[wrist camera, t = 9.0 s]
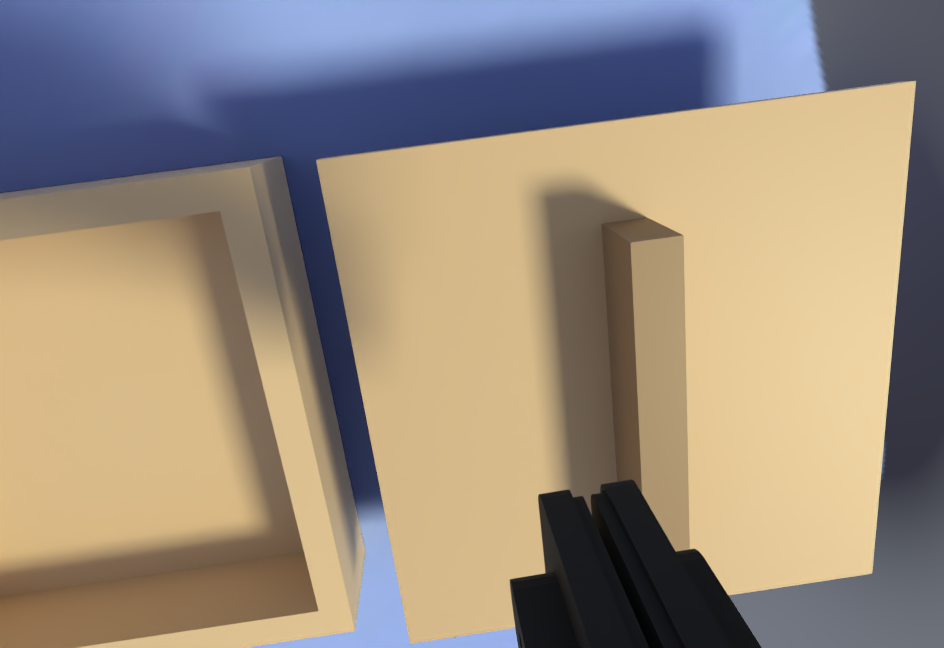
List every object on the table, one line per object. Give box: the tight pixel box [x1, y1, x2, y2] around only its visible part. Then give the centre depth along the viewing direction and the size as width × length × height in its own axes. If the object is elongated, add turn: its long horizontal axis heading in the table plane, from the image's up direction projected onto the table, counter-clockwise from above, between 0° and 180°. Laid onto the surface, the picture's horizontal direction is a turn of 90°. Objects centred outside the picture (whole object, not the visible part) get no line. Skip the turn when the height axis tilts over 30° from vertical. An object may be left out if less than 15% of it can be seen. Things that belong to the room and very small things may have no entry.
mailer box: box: [0, 156, 365, 648], centre depth 21 cm, size 15×15×4 cm
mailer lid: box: [316, 81, 916, 644], centre depth 18 cm, size 15×15×3 cm
